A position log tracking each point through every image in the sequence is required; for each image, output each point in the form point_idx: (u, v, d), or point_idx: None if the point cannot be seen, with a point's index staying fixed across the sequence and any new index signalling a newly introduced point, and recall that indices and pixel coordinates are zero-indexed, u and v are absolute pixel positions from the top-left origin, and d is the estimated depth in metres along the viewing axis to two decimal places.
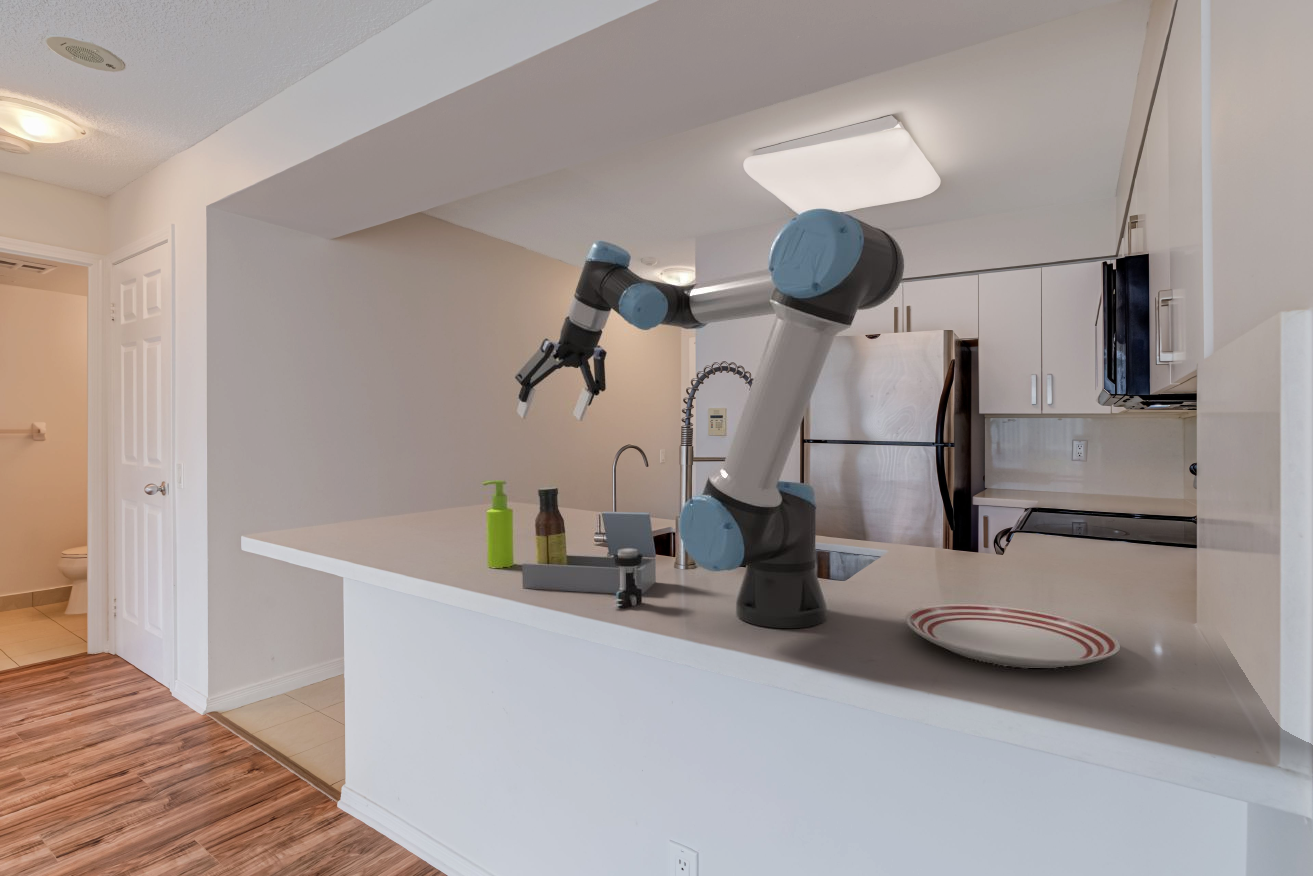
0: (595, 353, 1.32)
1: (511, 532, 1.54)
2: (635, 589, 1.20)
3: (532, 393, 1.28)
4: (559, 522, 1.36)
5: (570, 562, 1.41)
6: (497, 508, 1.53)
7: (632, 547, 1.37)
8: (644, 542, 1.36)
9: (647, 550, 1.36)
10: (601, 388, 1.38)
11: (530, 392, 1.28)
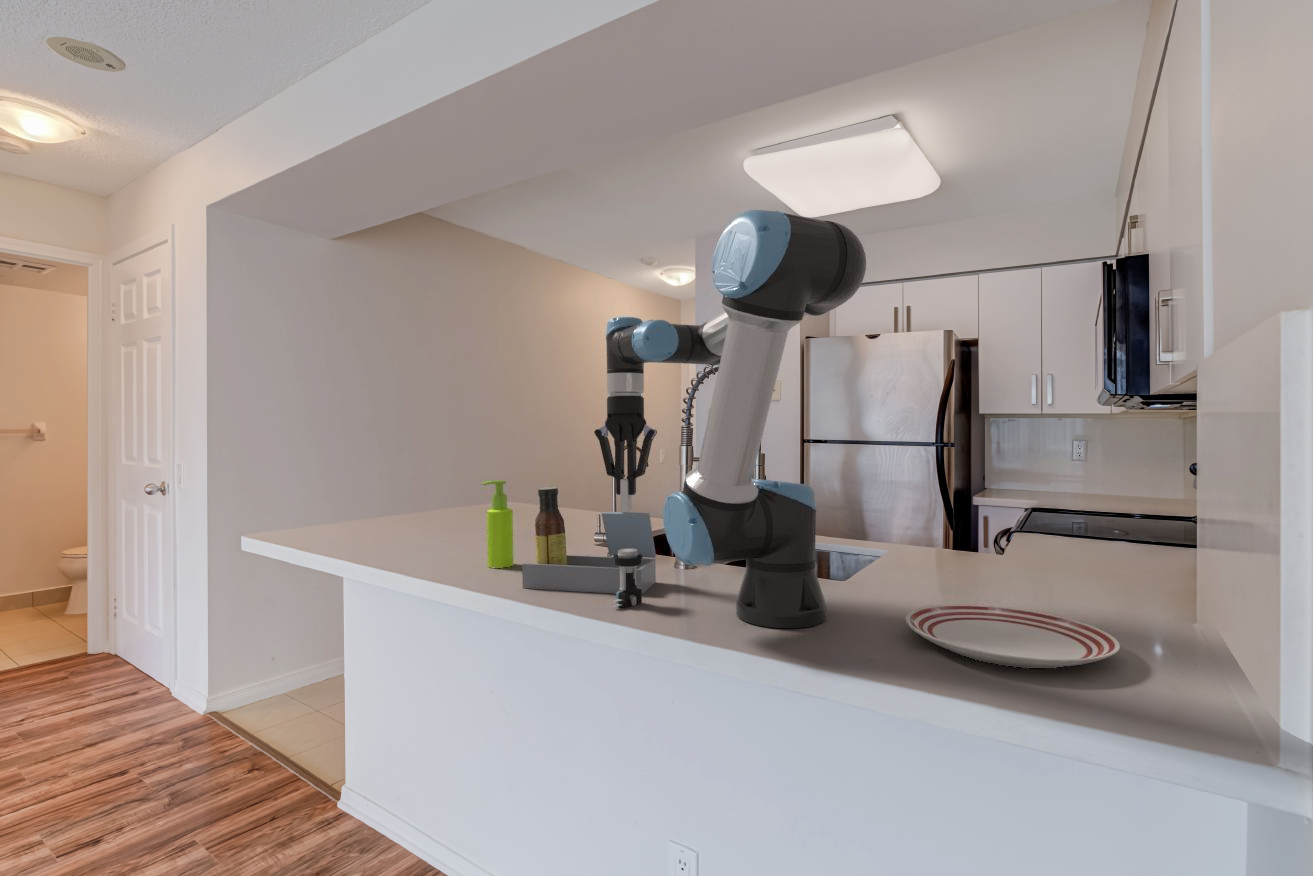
0: (645, 429, 1.33)
1: (511, 532, 1.54)
2: (635, 589, 1.20)
3: (621, 483, 1.33)
4: (559, 522, 1.36)
5: (570, 562, 1.41)
6: (497, 508, 1.53)
7: (632, 547, 1.37)
8: (644, 542, 1.36)
9: (647, 550, 1.36)
10: (637, 471, 1.33)
11: None
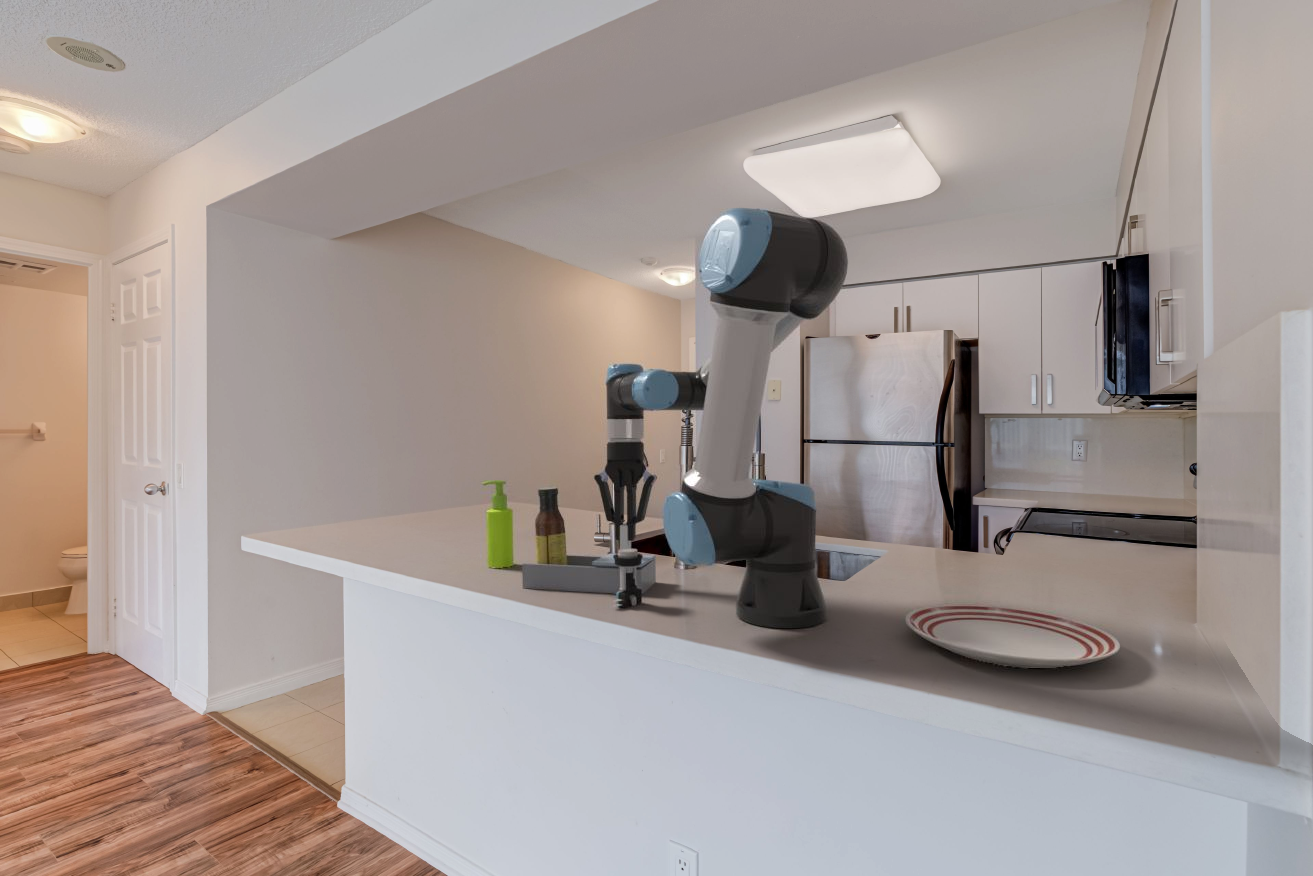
0: (645, 475, 1.33)
1: (511, 532, 1.54)
2: (635, 589, 1.20)
3: (621, 529, 1.33)
4: (559, 522, 1.36)
5: (570, 562, 1.41)
6: (497, 508, 1.53)
7: None
8: None
9: None
10: (636, 517, 1.33)
11: None
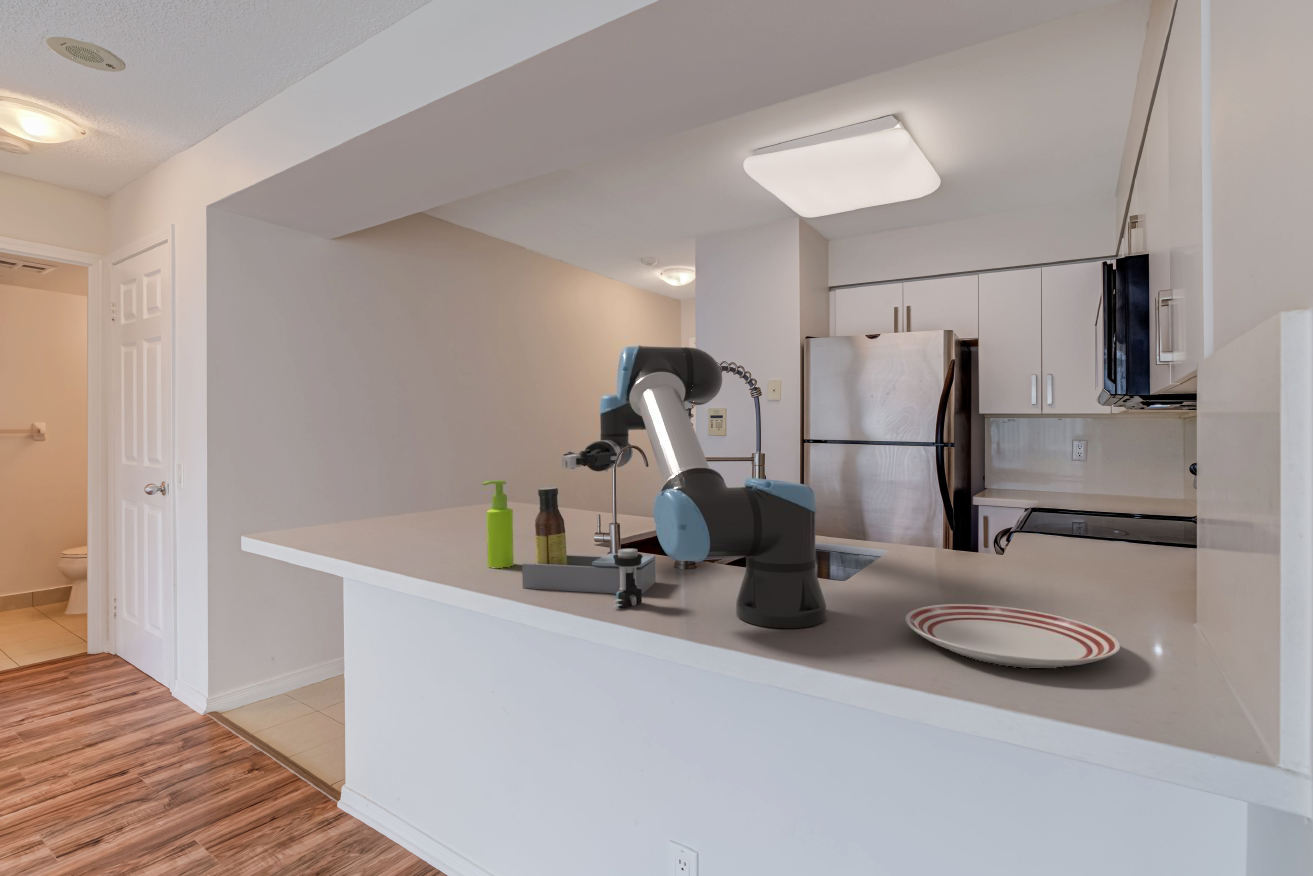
0: None
1: (511, 532, 1.54)
2: (635, 589, 1.20)
3: (573, 454, 1.51)
4: (559, 522, 1.36)
5: (570, 562, 1.41)
6: (497, 508, 1.53)
7: None
8: None
9: None
10: None
11: None
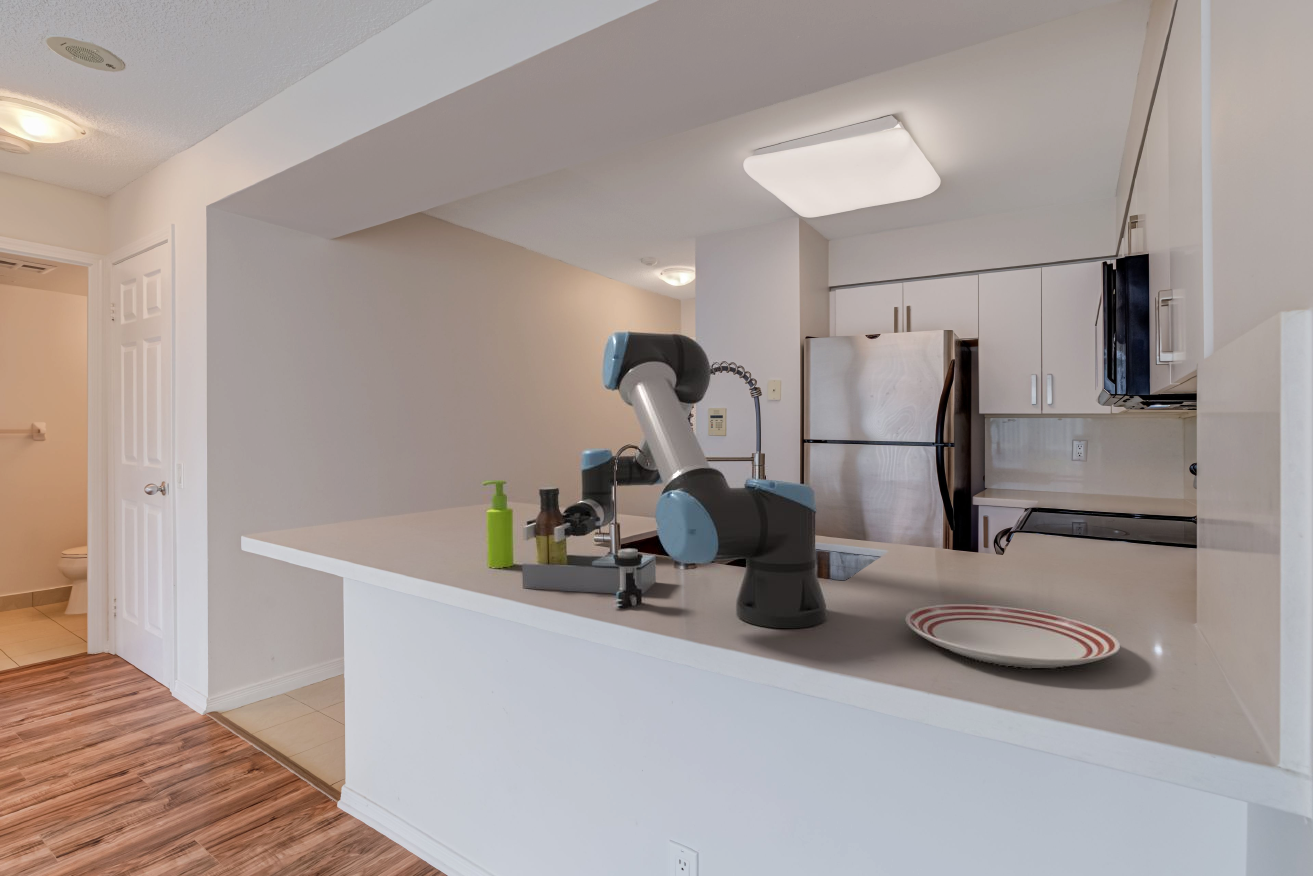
0: None
1: (511, 532, 1.54)
2: (635, 589, 1.20)
3: None
4: (560, 522, 1.35)
5: (570, 562, 1.41)
6: (497, 508, 1.53)
7: None
8: None
9: None
10: (581, 523, 1.39)
11: None
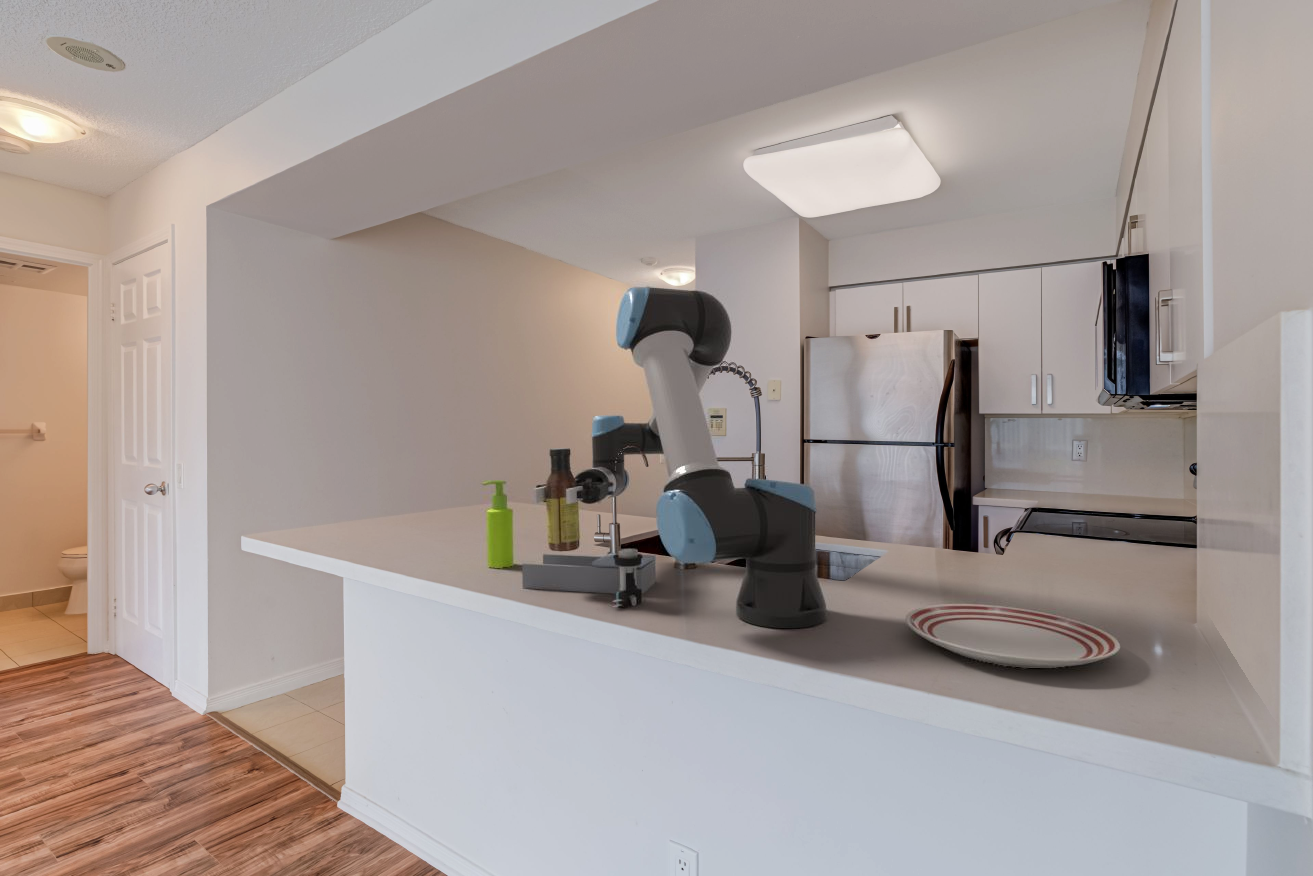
0: None
1: (511, 532, 1.54)
2: (635, 589, 1.20)
3: None
4: (572, 484, 1.28)
5: (570, 562, 1.41)
6: (497, 508, 1.53)
7: None
8: None
9: None
10: (594, 486, 1.31)
11: None
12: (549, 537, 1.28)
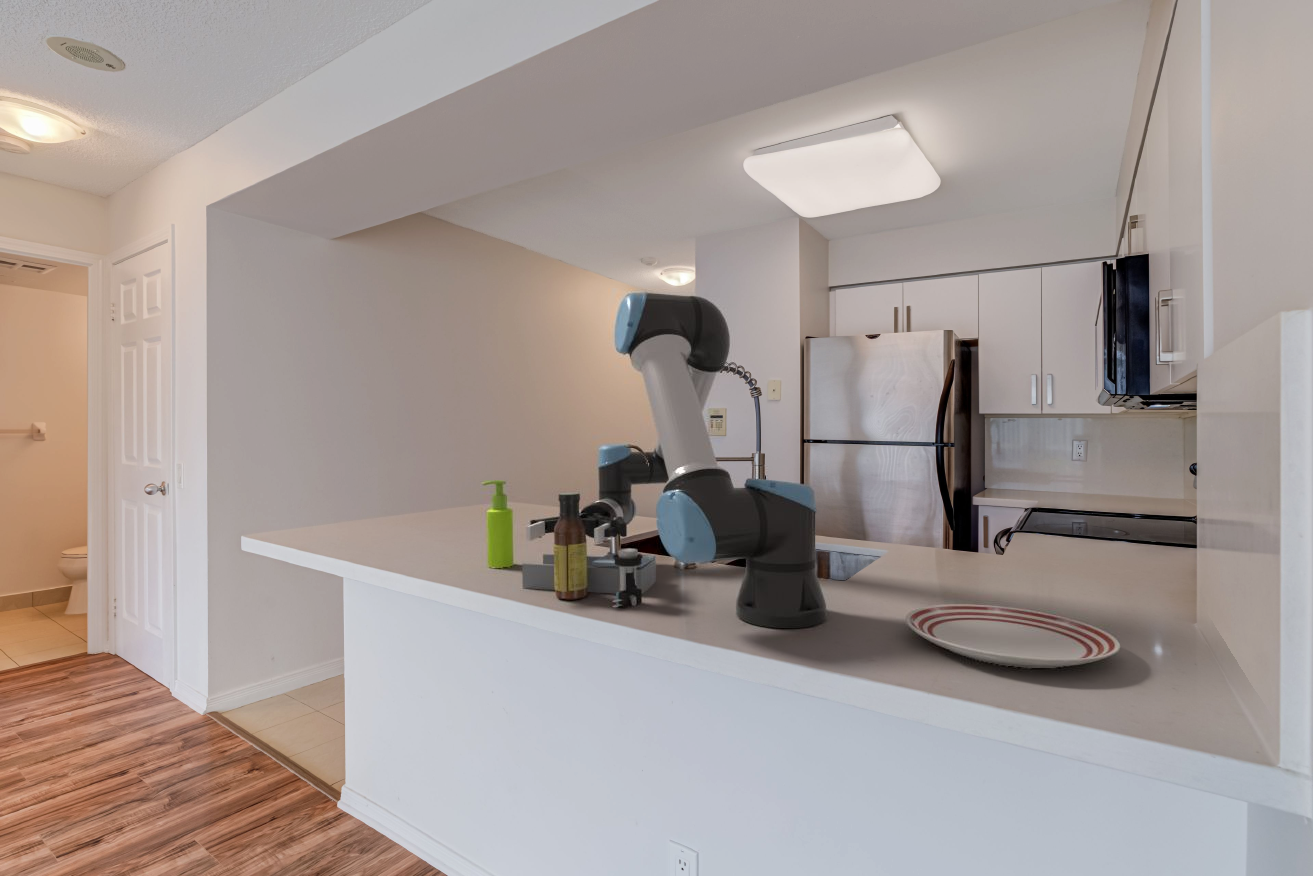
0: None
1: (511, 532, 1.54)
2: (635, 589, 1.20)
3: (540, 521, 1.30)
4: (580, 531, 1.24)
5: None
6: (497, 508, 1.53)
7: None
8: None
9: None
10: (621, 523, 1.28)
11: None
12: (556, 584, 1.25)
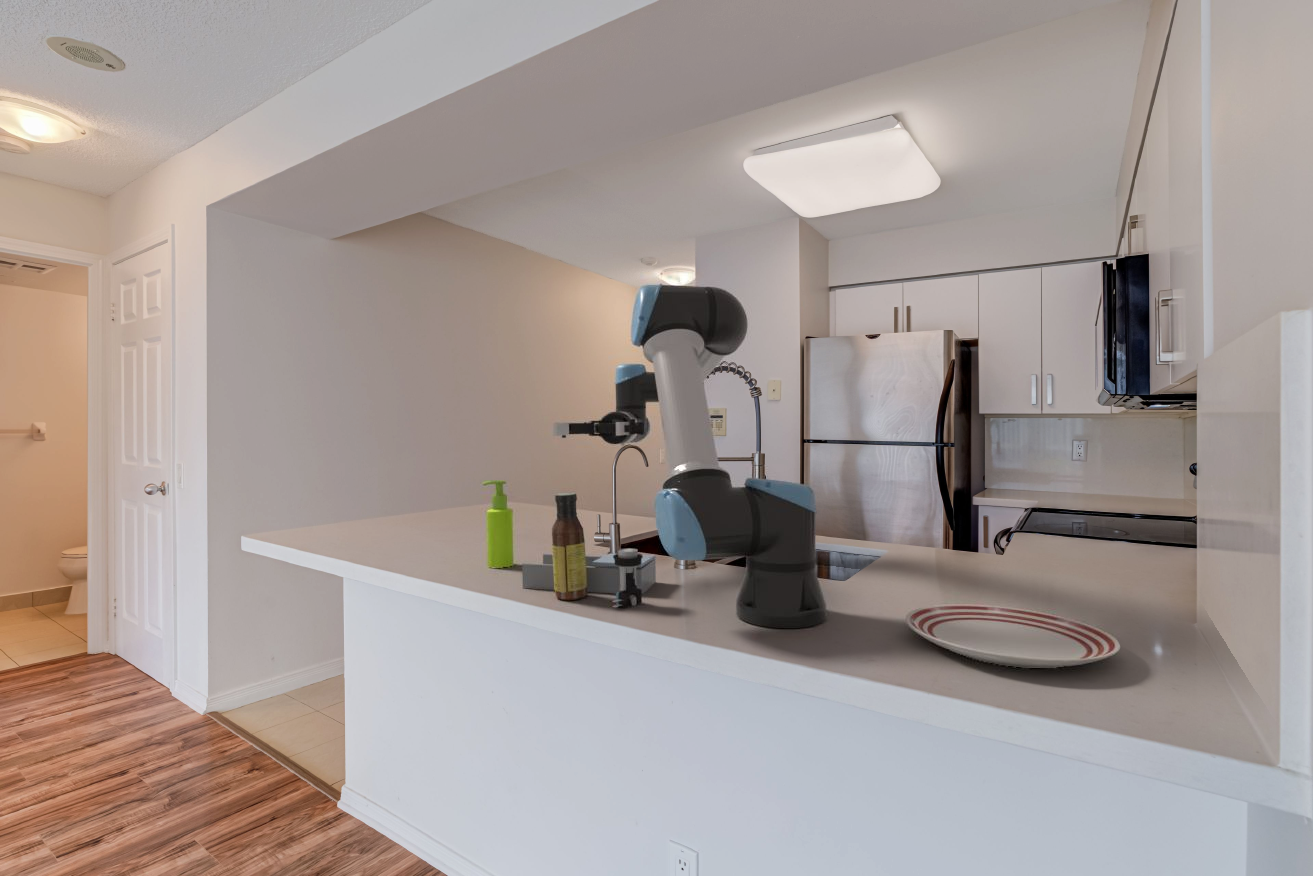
0: None
1: (511, 532, 1.54)
2: (635, 589, 1.20)
3: None
4: (578, 531, 1.24)
5: None
6: (497, 508, 1.53)
7: None
8: None
9: None
10: (639, 422, 1.40)
11: None
12: (555, 585, 1.25)
